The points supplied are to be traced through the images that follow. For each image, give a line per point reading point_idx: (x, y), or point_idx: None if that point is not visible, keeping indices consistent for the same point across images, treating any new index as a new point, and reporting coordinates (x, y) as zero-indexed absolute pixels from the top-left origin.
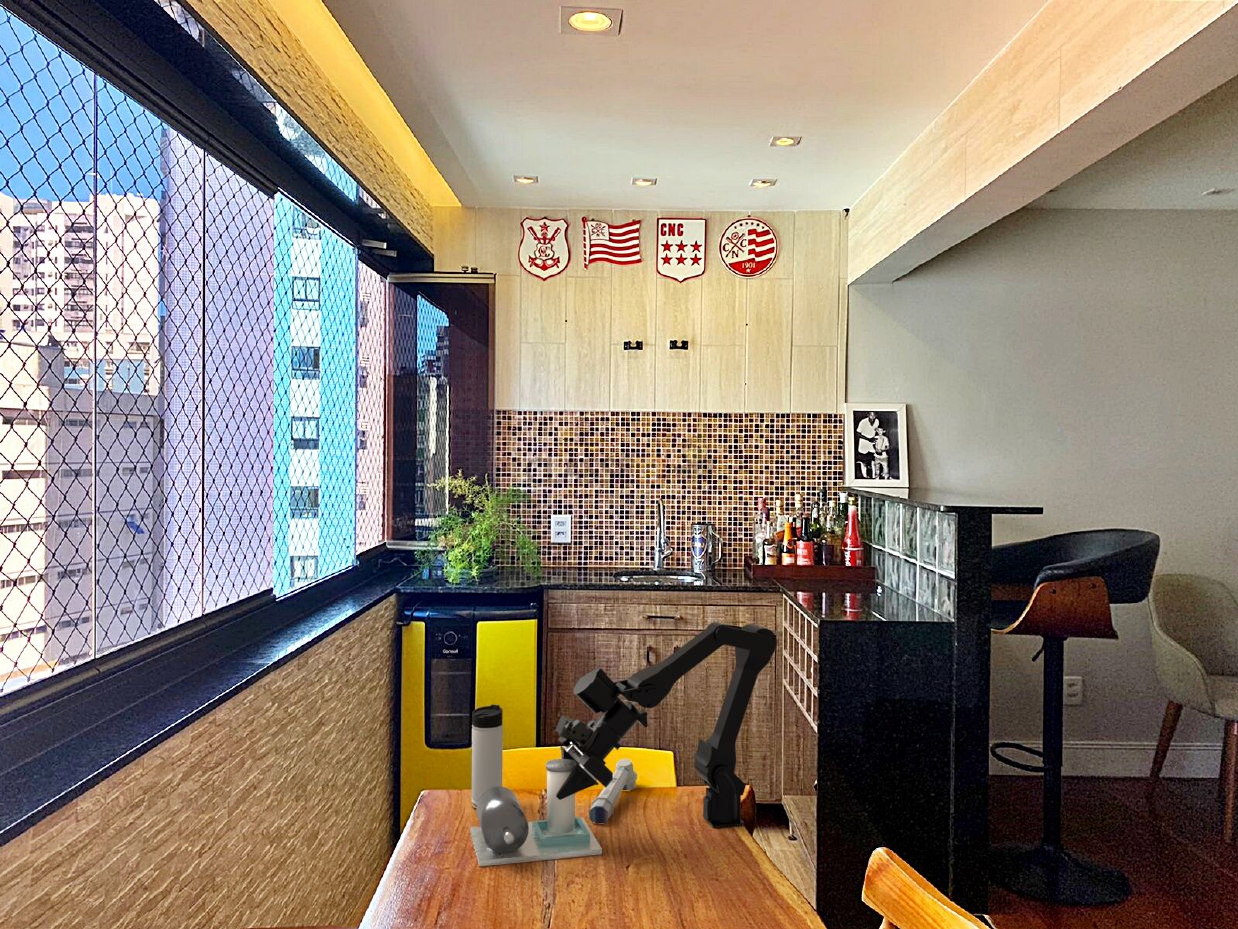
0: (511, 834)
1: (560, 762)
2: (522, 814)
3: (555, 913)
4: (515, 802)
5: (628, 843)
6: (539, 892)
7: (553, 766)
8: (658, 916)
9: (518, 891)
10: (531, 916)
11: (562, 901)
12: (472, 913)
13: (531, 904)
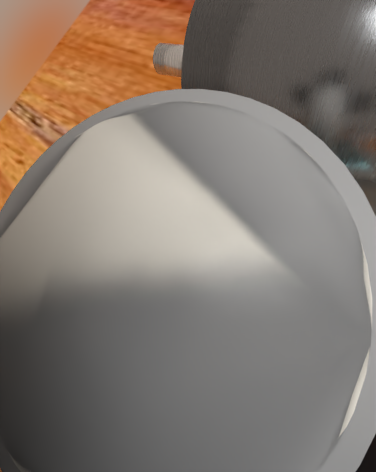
0: (157, 54)
1: (170, 306)
2: (181, 73)
3: (14, 121)
4: (290, 63)
5: None
6: (74, 126)
7: (105, 139)
8: None
9: (99, 96)
10: (31, 88)
11: (29, 146)
12: (91, 17)
13: (54, 100)
